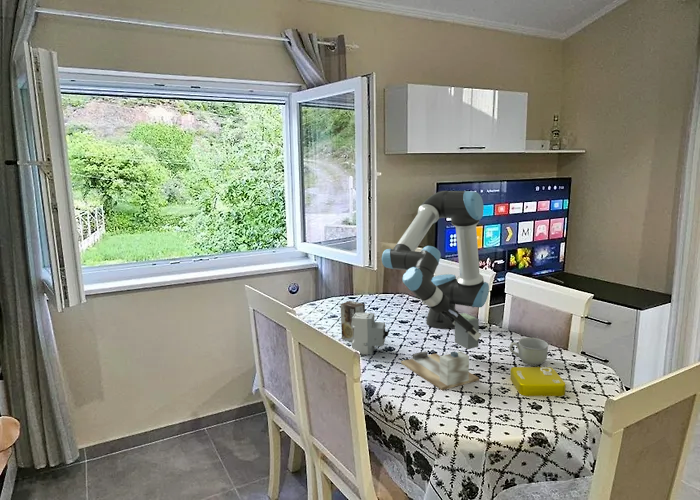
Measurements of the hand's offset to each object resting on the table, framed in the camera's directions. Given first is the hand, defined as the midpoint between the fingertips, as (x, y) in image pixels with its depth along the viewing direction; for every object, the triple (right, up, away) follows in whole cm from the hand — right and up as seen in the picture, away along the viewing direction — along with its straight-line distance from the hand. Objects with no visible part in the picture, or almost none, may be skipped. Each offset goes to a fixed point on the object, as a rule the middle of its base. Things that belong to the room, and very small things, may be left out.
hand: (471, 333), depth 197 cm
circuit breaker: (-38, -9, +12) cm, 41 cm away
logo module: (-2, -4, 0) cm, 5 cm away
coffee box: (-45, -7, +26) cm, 53 cm away
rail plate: (-14, -12, -9) cm, 21 cm away
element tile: (+17, -15, -22) cm, 32 cm away
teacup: (+21, -11, -2) cm, 24 cm away
